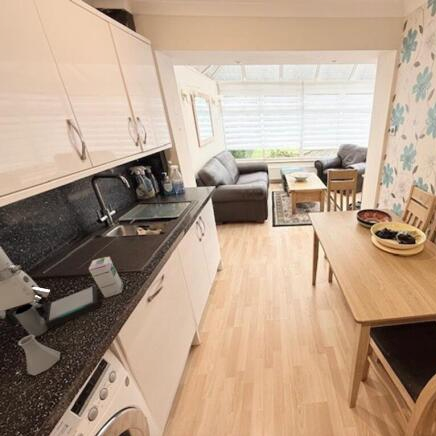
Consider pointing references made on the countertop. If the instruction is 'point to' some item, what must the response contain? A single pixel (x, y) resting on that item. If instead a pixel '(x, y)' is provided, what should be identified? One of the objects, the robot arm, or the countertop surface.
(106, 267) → the syrup box
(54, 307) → the scale
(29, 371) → the flask
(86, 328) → the countertop surface
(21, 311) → the planter
